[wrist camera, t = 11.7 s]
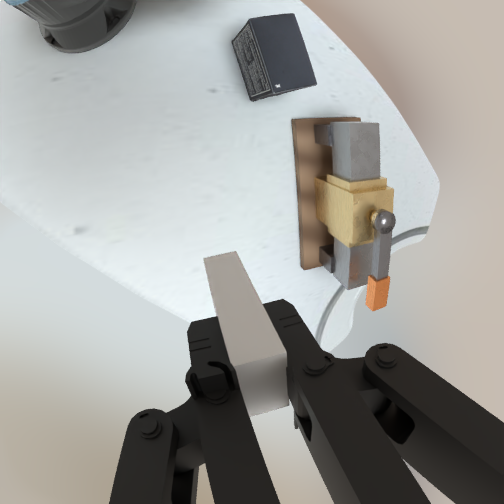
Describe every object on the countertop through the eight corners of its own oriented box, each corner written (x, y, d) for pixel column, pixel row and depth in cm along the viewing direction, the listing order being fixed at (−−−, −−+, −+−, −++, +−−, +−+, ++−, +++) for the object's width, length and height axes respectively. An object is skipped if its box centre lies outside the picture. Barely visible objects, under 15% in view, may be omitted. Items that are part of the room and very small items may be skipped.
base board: (291, 119, 42) (295, 119, 41) (355, 117, 44) (360, 117, 43) (300, 266, 54) (304, 270, 52) (356, 253, 56) (360, 256, 55)
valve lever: (370, 210, 36) (379, 214, 34) (388, 206, 36) (397, 211, 34) (364, 304, 42) (371, 311, 41) (380, 299, 43) (387, 305, 41)
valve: (310, 121, 42) (355, 124, 31) (348, 120, 43) (398, 124, 32) (316, 264, 53) (352, 302, 42) (349, 256, 54) (388, 290, 43)
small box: (289, 92, 40) (320, 86, 31) (250, 102, 40) (272, 96, 31) (270, 32, 36) (296, 11, 26) (230, 40, 35) (246, 18, 26)
